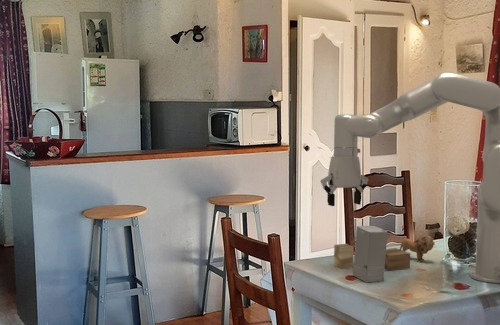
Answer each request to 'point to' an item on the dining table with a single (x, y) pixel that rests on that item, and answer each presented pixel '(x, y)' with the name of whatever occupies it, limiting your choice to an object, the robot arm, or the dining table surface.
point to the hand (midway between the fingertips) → (344, 204)
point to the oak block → (343, 256)
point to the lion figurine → (418, 246)
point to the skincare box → (370, 253)
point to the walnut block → (397, 259)
